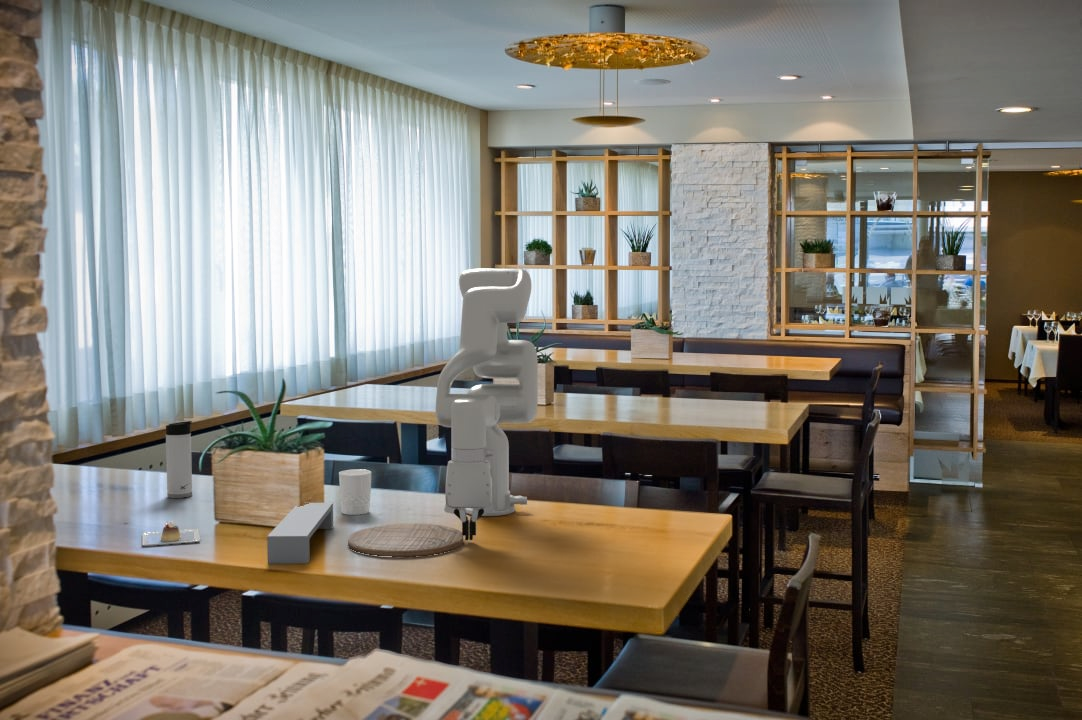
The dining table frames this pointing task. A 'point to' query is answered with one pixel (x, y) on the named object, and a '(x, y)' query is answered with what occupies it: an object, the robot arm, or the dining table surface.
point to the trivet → (405, 540)
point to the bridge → (298, 533)
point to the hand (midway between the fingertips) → (469, 538)
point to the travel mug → (179, 460)
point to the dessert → (171, 535)
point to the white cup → (355, 491)
